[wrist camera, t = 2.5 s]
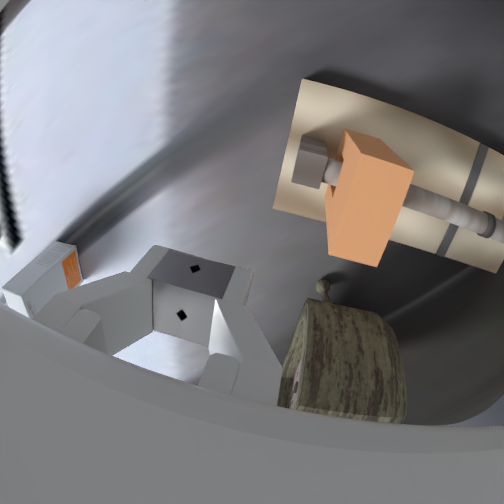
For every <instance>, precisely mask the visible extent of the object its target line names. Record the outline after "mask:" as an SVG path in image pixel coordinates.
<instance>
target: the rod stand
mask: <svg viewBox="0 0 504 504" xmlns="http://www.w3.org/2000/svg"><path fill="white" fill-rule="evenodd" d="M344 128H346V129H349V130H353V131H356V132H359V133H363V134H366V135H369V136H372V137H375V138H378V139H380V140H381V141H383V142H384V143H385V144H386V145H387V146H388V147H389V148H390V149H392V150H393V151H394V152H395V153H396V154H397V155H398V156H399V157H400V158H401V159H402V160H403V161H405V162H406V163H407V164H408V165H409V166H410V167H411V168H412V169H413V170H414V174H413V177H412V180H411V183H410V186H409V189H408V191H407V194H406V197H405V199H404V202H403V205H402V207H401V210H400V213H399V215H398V218H397V220H396V223H395V225H394V228H393V230H392V233H391V235H390V238H389V240H391V241H395V242H398V243H402V244H405V245H408V246H412V247H415V248H418V249H422V250H425V251H428V252H431V253H434V254H436V255H438V256H441V257H447V258H450V259H453V260H457V261H460V262H463V263H466V264H469V265H472V266H475V267H478V268H481V269H484V270H487V271H490V272H493V273H497V271H498V269H499V267H500V265H501V263H502V262H503V260H504V155H502V154H500V153H499V152H497V151H495V150H493V149H491V148H489V147H487V146H485V145H484V144H482V143H480V142H478V141H476V140H474V139H472V138H469V137H467V136H465V135H463V134H461V133H459V132H457V131H455V130H453V129H450V128H448V127H446V126H444V125H441V124H439V123H437V122H434V121H432V120H430V119H427V118H425V117H422V116H420V115H417V114H415V113H412V112H410V111H407V110H404V109H402V108H399V107H396V106H393V105H391V104H388V103H385V102H382V101H379V100H376V99H373V98H370V97H367V96H364V95H361V94H357V93H354V92H351V91H347V90H344V89H340V88H337V87H333V86H329V85H326V84H322V83H318V82H314V81H310V80H306V79H302V81H301V86H300V90H299V95H298V99H297V104H296V108H295V113H294V117H293V121H292V126H291V130H290V135H289V139H288V143H287V148H286V152H285V157H284V161H283V165H282V170H281V174H280V178H279V183H278V187H277V191H276V196H275V200H274V204H273V209H277V210H281V211H285V212H289V213H293V214H297V215H301V216H304V217H308V218H312V219H316V220H320V221H323V222H326V210H325V198H324V197H325V193H326V190H327V187H328V184H330V185H333V186H336V185H337V182H338V178H339V175H340V171H341V168H342V164H343V162H340V161H337V160H335V158H336V155H337V151H338V147H339V144H340V140H341V136H342V132H343V129H344Z"/></svg>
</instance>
